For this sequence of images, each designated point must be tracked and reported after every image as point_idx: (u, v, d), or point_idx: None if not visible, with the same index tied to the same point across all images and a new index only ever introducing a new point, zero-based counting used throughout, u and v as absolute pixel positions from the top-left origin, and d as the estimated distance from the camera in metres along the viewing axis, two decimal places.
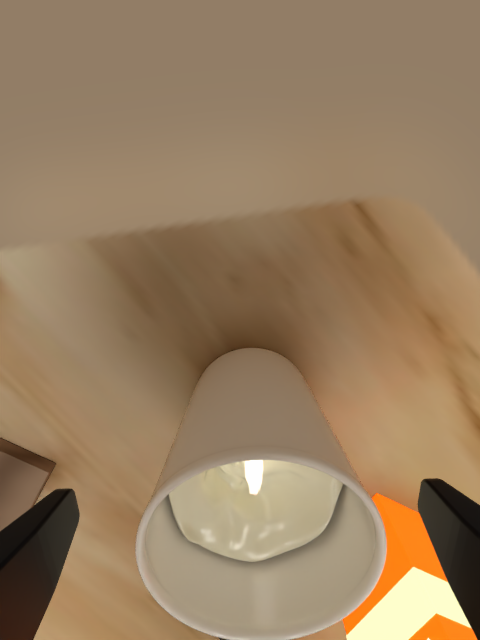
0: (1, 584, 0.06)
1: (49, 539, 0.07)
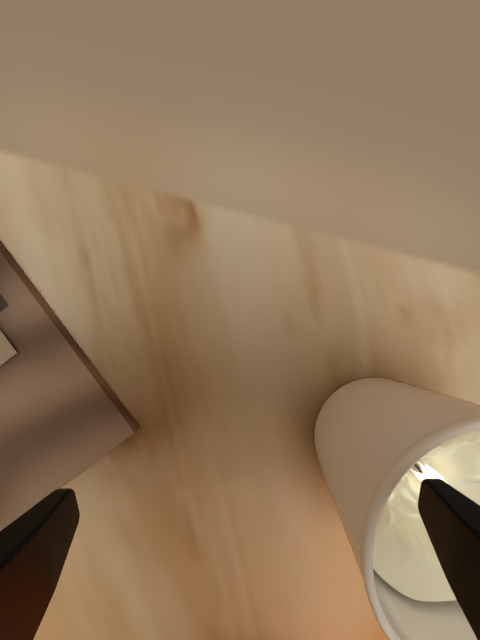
0: (1, 584, 0.06)
1: (49, 539, 0.07)
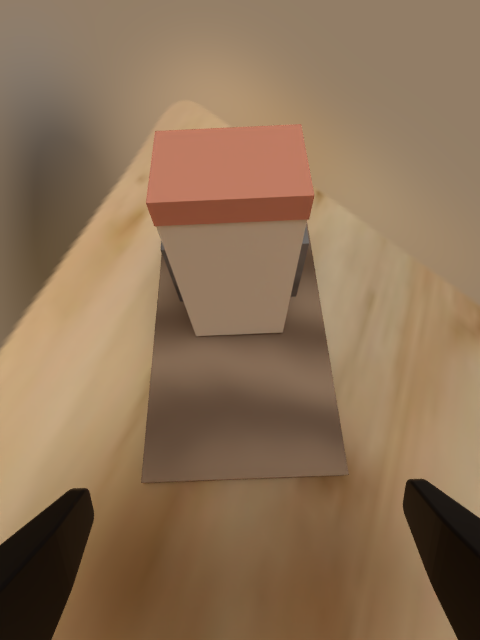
0: (22, 584, 0.06)
1: (66, 539, 0.07)
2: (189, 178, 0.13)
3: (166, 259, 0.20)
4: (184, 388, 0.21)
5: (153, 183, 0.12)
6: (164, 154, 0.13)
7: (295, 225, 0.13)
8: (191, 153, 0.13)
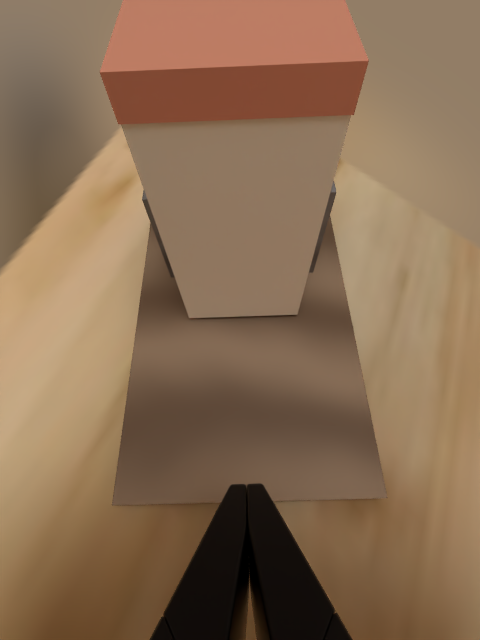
0: (241, 578, 0.06)
1: (248, 534, 0.07)
2: (170, 46, 0.08)
3: (150, 214, 0.15)
4: (172, 382, 0.17)
5: (114, 49, 0.08)
6: (135, 18, 0.09)
7: (331, 127, 0.09)
8: (176, 16, 0.09)
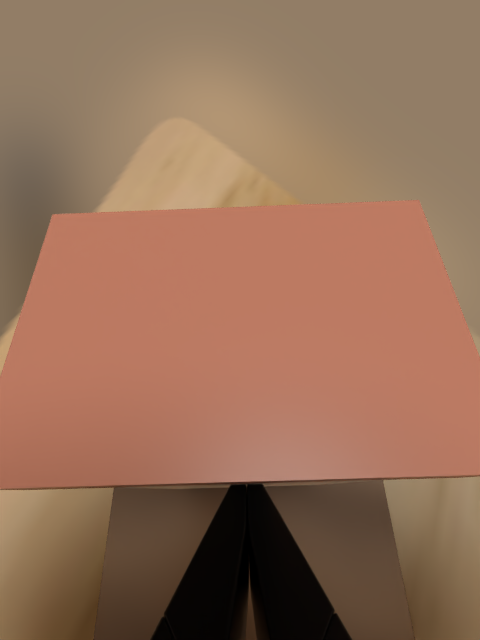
0: (241, 578, 0.06)
1: (248, 534, 0.07)
2: (119, 373, 0.04)
3: None
4: (155, 613, 0.13)
5: (6, 401, 0.04)
6: (62, 288, 0.05)
7: None
8: (134, 287, 0.05)
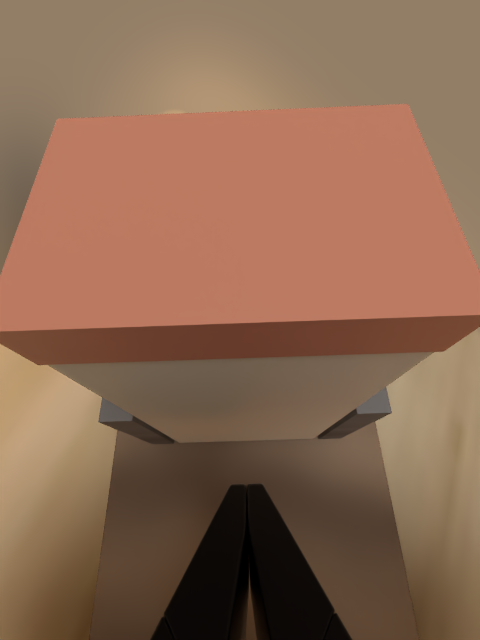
0: (241, 578, 0.06)
1: (248, 534, 0.07)
2: (123, 245, 0.05)
3: (114, 426, 0.10)
4: (151, 633, 0.12)
5: (17, 264, 0.04)
6: (67, 177, 0.05)
7: (399, 356, 0.05)
8: (136, 175, 0.05)
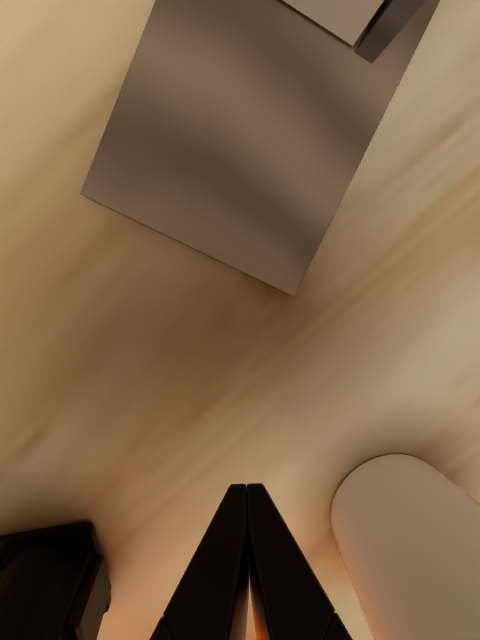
0: (241, 578, 0.06)
1: (248, 534, 0.07)
2: None
3: None
4: (168, 109, 0.16)
5: None
6: None
7: None
8: None
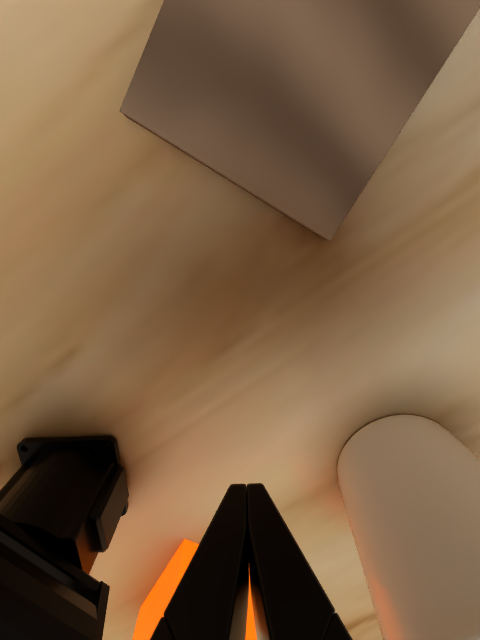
0: (241, 578, 0.06)
1: (248, 534, 0.07)
2: None
3: None
4: (217, 17, 0.14)
5: None
6: None
7: None
8: None
